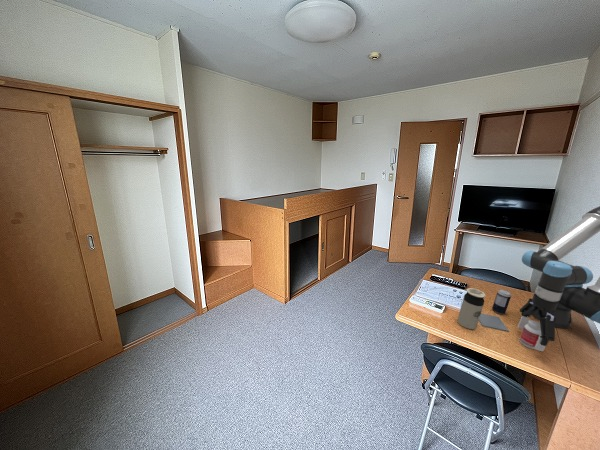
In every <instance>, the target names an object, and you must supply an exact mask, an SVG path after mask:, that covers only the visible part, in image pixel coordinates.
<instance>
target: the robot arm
mask: <svg viewBox="0 0 600 450" xmlns="http://www.w3.org/2000/svg"><path fill="white" fill-rule="evenodd" d="M599 232H600V206H597V207H595V208H592V209H591V210H589V211H587V212H586V213H585V214H583V215H582V217H581V219H580V220H579V221H577V223H575V224H574V225H572V226H571V227H569V228H568V229H567V230H565V231H564V232H563V233H561V234H560V235H558V236H557V237H556V238H555V239H553V240H552V241H550V242H548V244H546V245H545V246H544V247H542V248H540V249H539V250H537V251H534V250H528V251H525V252H524V253H523V255H522V257H521V262H522V264H524V266H526V267H529V268H530V269H534V270H535V271H538V272H540V273H541V276H540V277H539V282H538V284H537V286H536V288H535V291H534V294H533V296H532V298H529V299H528V301H527V302H526V303H525V304H524V305H523V306H522V307H521V308H520V309H519V312H520V313H521V314H520V315H521V317H520V320H519V322H518V325H517V329H519V330H523V328H524V326H525V325H526V324H528V322H529V320H531V319H530V318H531V316H533V317H534V318H535V319H537V321H538V322H539V323H540V327H541V335H542V336H539V338H538V341H537V343H536V346H535V348H534V349H533V350H536V351H539V352H544V351H545V349H546V347H547V345H548V343H549V341H551V342H555V339H556V338H555V337H556V336H555V334H556V328H560V329H570V328H571V326H572V324H573V319H572V311H573V312H575V313H578V315H579V314H580V315H581V316H583V317H585V318H587V319H589V320H590V321H593V322H595V323H598V324H600V276H599V277H598V279H597V280H596V282H595V284H592V285H587V286H586V288H584V285H585V284H590V283H591V282H592V281H593V279H594V274H593V272H592V270H591V269H589V268H588V267H585V266H581V265H572V264H570V263H568V262H564V261H561V260H562V259H563V258H564V257H566V256H567V255H568V254H570V253H571V252H572V251H574V250H576V249H577V248H579V247H580V246H581V245H582V244H584V243H586V242H587V241H589V239H591V238H592V237H595V236H596V235H597V234H598V233H599Z"/></svg>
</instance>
